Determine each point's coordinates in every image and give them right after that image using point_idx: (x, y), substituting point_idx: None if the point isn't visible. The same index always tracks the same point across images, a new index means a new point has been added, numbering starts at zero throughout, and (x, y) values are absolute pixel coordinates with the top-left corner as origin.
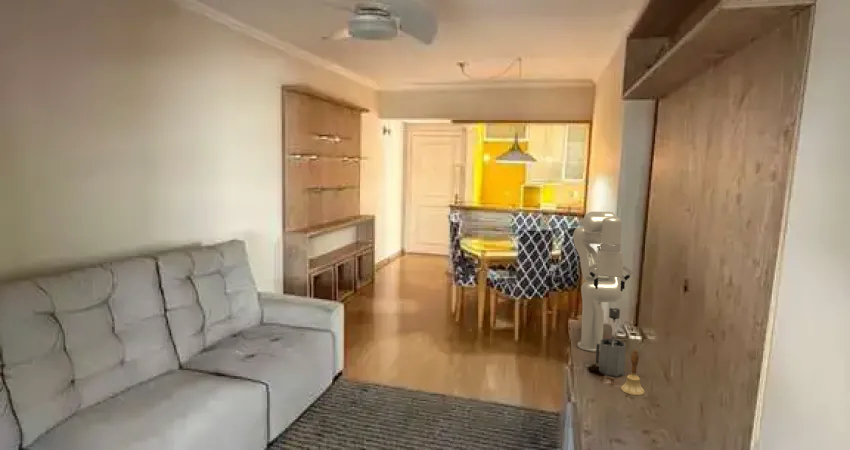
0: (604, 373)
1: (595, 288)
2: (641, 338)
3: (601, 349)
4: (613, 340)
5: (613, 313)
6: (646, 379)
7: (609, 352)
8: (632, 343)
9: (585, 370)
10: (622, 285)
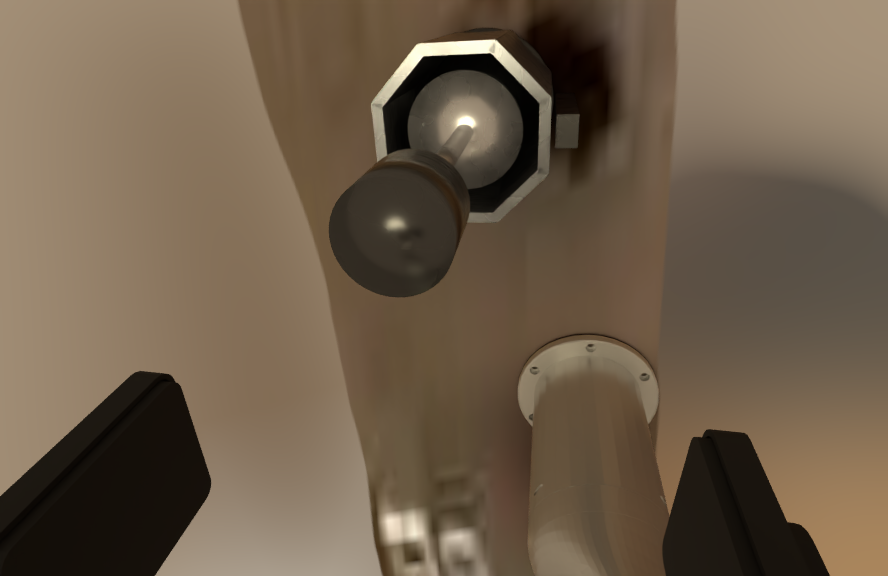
0: (521, 39)
1: (745, 436)
2: (379, 520)
3: (542, 80)
4: (453, 135)
5: (407, 164)
6: (313, 69)
7: (485, 37)
8: (408, 468)
9: (631, 61)
10: (37, 465)
